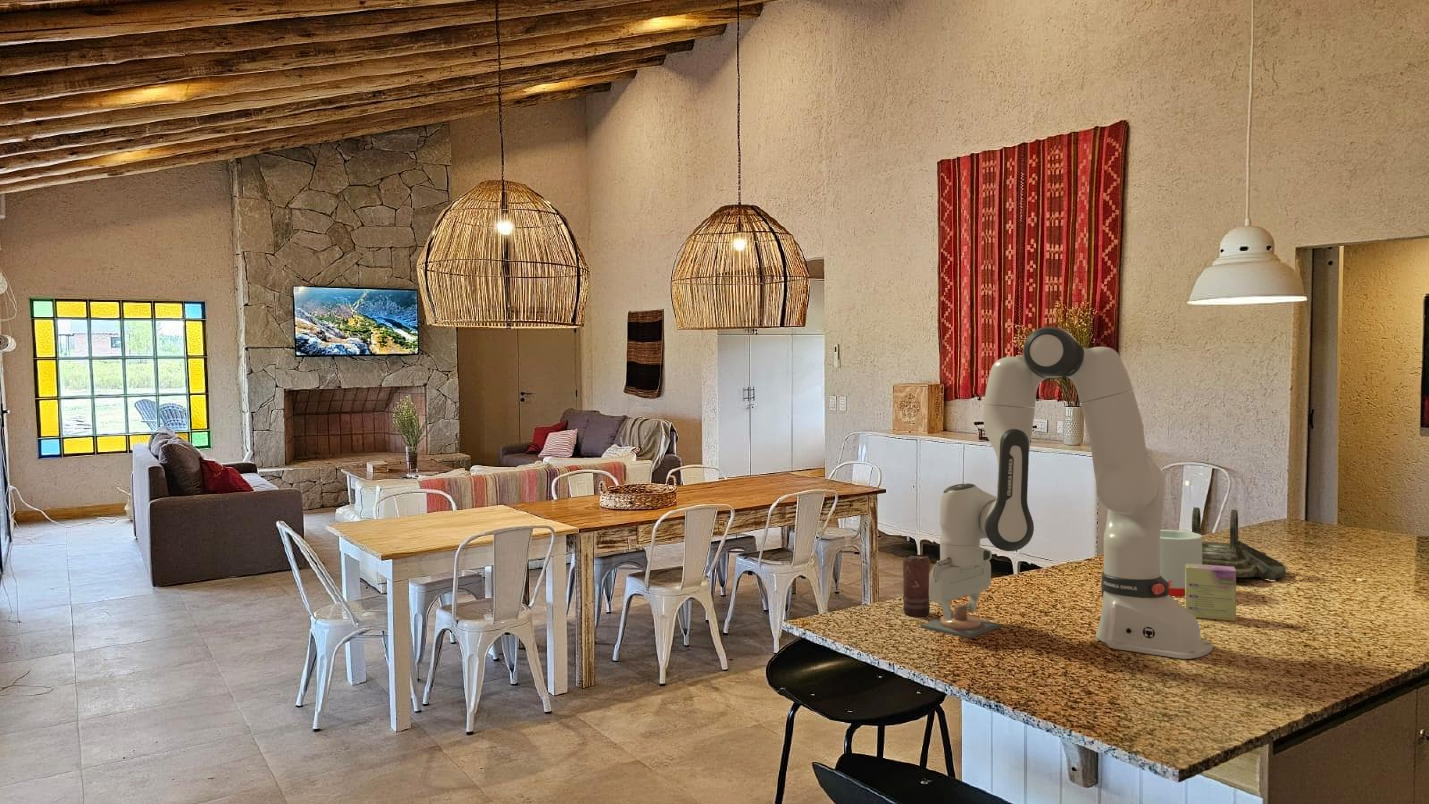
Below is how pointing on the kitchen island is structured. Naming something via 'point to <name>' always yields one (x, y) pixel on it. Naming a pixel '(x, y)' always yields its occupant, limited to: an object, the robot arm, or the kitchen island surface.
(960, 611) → the lid
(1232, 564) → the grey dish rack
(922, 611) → the can
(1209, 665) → the kitchen island surface
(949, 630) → the mat
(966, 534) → the robot arm
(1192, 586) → the box
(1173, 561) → the container
